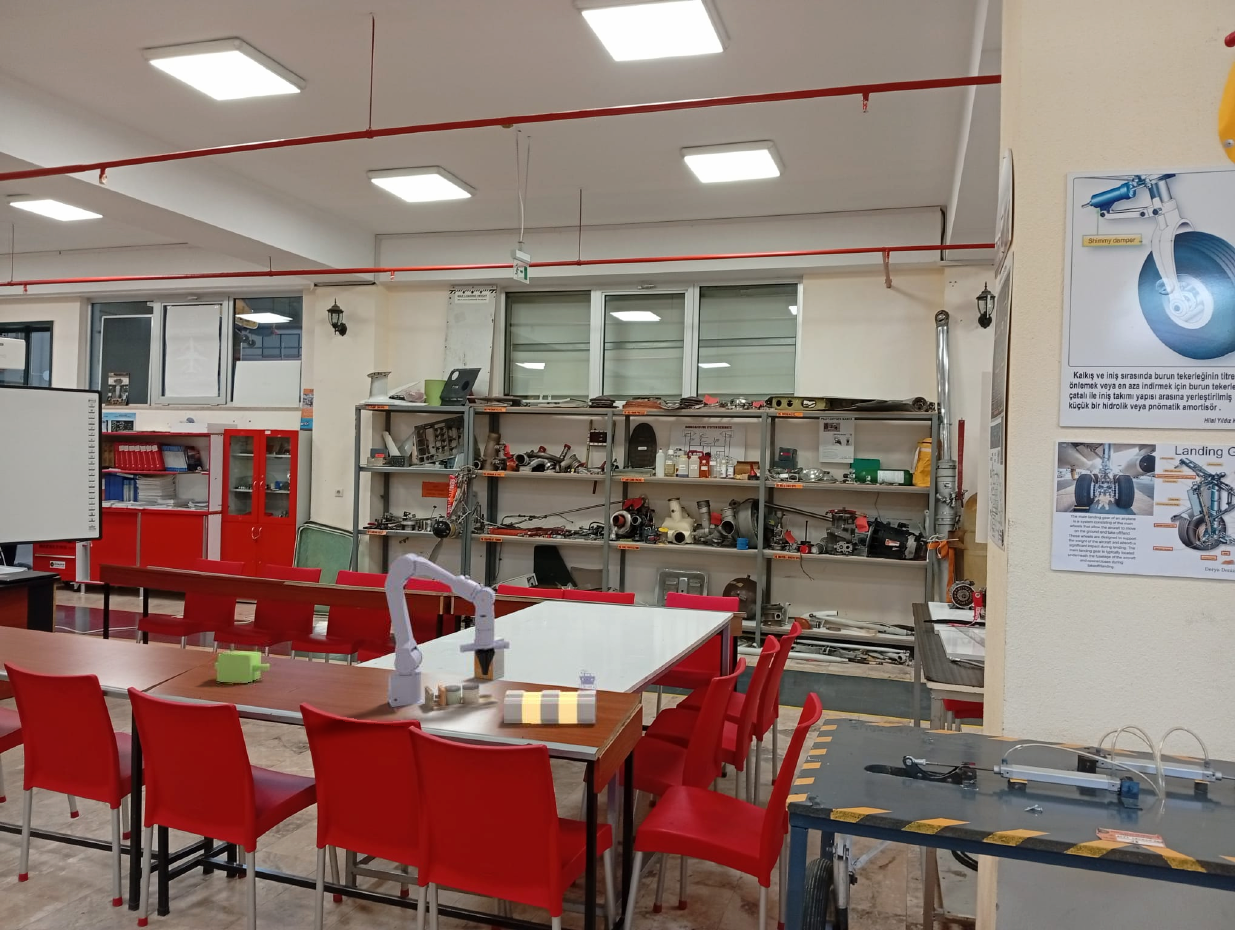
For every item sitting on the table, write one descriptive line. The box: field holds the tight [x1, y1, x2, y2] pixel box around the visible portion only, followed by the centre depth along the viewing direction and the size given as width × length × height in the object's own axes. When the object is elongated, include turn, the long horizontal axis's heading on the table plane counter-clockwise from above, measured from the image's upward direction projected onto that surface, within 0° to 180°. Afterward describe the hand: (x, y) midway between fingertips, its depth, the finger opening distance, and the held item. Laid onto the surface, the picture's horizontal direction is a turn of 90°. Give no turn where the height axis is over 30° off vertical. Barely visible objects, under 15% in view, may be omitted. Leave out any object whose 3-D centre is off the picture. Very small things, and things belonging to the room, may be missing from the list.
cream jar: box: [461, 683, 480, 704], centre depth 259 cm, size 5×5×5 cm
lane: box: [424, 685, 500, 713], centre depth 258 cm, size 20×10×6 cm, turn 112°
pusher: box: [434, 684, 446, 706], centre depth 256 cm, size 2×7×5 cm, turn 22°
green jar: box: [443, 684, 462, 706], centre depth 257 cm, size 5×5×5 cm
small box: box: [473, 636, 505, 681], centre depth 293 cm, size 8×6×13 cm
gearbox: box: [214, 650, 271, 684], centre depth 290 cm, size 18×10×10 cm, turn 83°
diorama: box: [503, 669, 597, 724], centre depth 244 cm, size 25×10×13 cm, turn 90°
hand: (484, 674), depth 261 cm, fingers closed
